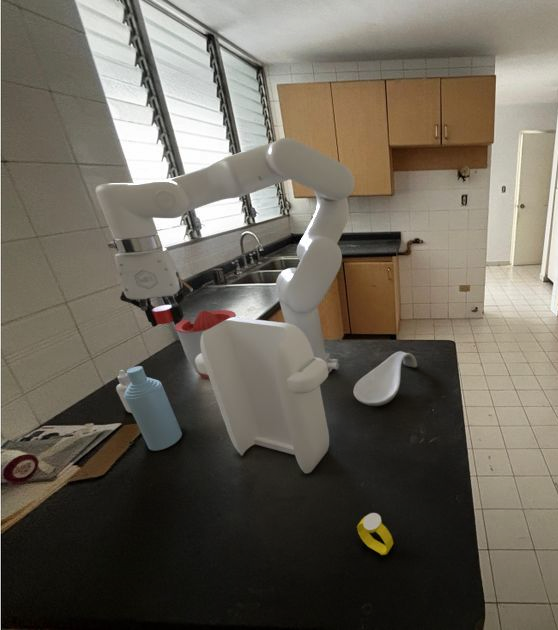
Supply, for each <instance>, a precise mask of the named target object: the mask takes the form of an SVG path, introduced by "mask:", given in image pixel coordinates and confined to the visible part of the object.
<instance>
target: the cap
mask: <svg viewBox="0 0 558 630" xmlns="http://www.w3.org/2000/svg"><path fill="white" fill-rule="evenodd" d="M170 308H171V304H163V305H158V306H155V308H153V309H152V313H153V315H154V318H155V321H156V323H157V324H158V325H166V324H171V323H173V322H174V319H173V316H172V313H171V310H170Z"/></svg>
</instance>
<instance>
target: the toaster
mask: <svg viewBox="0 0 558 630" xmlns="http://www.w3.org/2000/svg"><path fill="white" fill-rule="evenodd" d="M200 347H201V353H200V354H199V355H198V356H197V357H196V359H195V363H196V366H197V369H198V371H199V372H200V373H202V374H205V375H208V376H209V381H210V385H211V387H212V391H213V393H214V396H215V400H216V402H217V405H218V408H219V411H220V413H221V416H222V419H223V423H224V425H225V428H226V431H227V434H228V436H229V439H230V441H231V443H232V445H233V447H234V448H235V450H236V451H237V453H238V454H240V456H244V454H245V452H246V451H247V450H248V449H249V448H251V447H252V446H254V445H257V446H260V447H264V448H268V449H271V450H275V451H279V452H283V453H286V454H290V455H294V456H295V459H296V462H297V464H298V466H299V468H300V470H301V471H302V472H303V473H304V474H305V475H306V474H310V473H312V472H313V471H314V469H315V468H316V467H317V465H318V464H319V463H320V462H321V460H322V459H323V457H325V455H326V454H327V452H328V451H329V447H330V433H329V427H328V422H327V417H326V411H325V407H324V402H323V401H324V400H323V396H322V390H321V385H322V384H323V383H324V382H325V381H326V380H327V378H328V377H329V373H328V368H327V364H326V362H325V361H324V360H322V359H320V358H316V357H314V355H313V351H312V348H311V346H310V343H309V341H308V339H307V337H306V336H305V334H304V333H303V332H302V331H301V330H300V329H299V328H298V327H296V326H295V325H292V324H288V323H285V322H280V321H279V322H278V321H272V320H271V321H269V320H263V319H254V318H246V317H238V316H235V317H232V318H229V319H227V320H225V321H223V322H221V323H219V324H217V325H215V326H213V327H212V328H210V329H208V330H205V331H204V332H203V333H202V335H201V340H200Z"/></svg>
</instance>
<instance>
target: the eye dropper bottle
mask: <svg viewBox="0 0 558 630" xmlns="http://www.w3.org/2000/svg"><path fill="white" fill-rule="evenodd" d="M116 378H117V381H118V382H119V384H117V385H116V387H115V390H116V393H117V394H118V396H119V398H120V401H121V403H122V405H123V407H124V408H125V411H126V412H127V413H129V414H132V412H131V410H130V408H129V405H128V403H127V401H126V399H125V397H124V395H125V391H126V390H127V388H128V386H129V385H130V383H131V381H130V379H129V377H128V375H127V372H125V371H124V369H120V370H119V375H117V376H116Z"/></svg>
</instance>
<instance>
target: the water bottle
mask: <svg viewBox="0 0 558 630" xmlns="http://www.w3.org/2000/svg"><path fill="white" fill-rule="evenodd" d="M126 373H127V375H128V377H129V379H130V381H131V383H130V385H129V386H128V388H127V390H126V391H125V395H124V397H125V399H126V401H127V403H128V405H129V408H130V410H131V412H132V413H131V414H132V416H133V418H134V420H135V422H136V425H137V427H138V429H139V430H140V433H141V435H142V438H143V439H144V441H145V444H146V446H147V447H148V449H149V450H150V451H154V452H155V451H161V450H165V449H167V448H170V447H171V446H173V445H175V444H176V443H177V442H178V441H179V440H180V439H181V438H182V436H183V432H182V430H181V427H180V424H179V422H178V420H177V417H176V415H175V412H174V410H173V408H172V405H171V402H170V401H169V398H168V396H167V394H166V391H165V389H164V386H163V384H162V382H161V381H160V380H158V379H155V378H151V377H148V376H147V374H146V373H145V370H144V367H143V366H141V365H137V366H133V367H131V368H129V369H127V370H126Z"/></svg>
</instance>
